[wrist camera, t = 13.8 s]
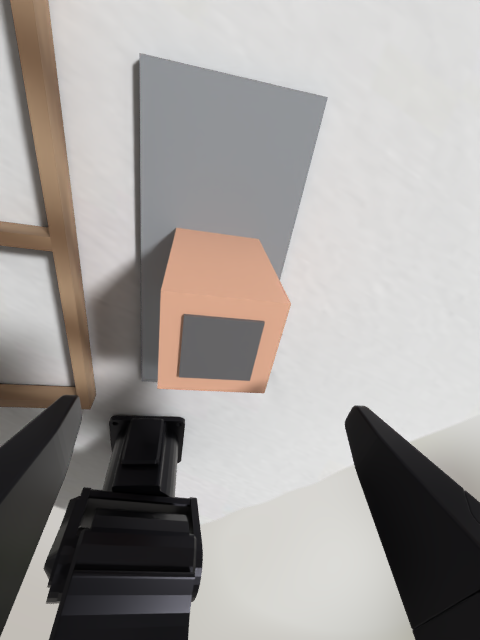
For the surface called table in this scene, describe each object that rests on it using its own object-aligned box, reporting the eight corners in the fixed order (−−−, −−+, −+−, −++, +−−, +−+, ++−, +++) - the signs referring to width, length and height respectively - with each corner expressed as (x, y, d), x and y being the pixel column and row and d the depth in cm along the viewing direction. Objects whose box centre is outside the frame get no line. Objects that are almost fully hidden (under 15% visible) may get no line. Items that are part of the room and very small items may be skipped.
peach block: (244, 308, 21) (264, 395, 14) (172, 301, 20) (156, 391, 13) (258, 239, 18) (292, 305, 12) (176, 227, 18) (160, 292, 11)
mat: (251, 382, 26) (251, 386, 25) (142, 377, 24) (141, 380, 24) (324, 97, 15) (327, 97, 15) (141, 54, 14) (139, 53, 13)
